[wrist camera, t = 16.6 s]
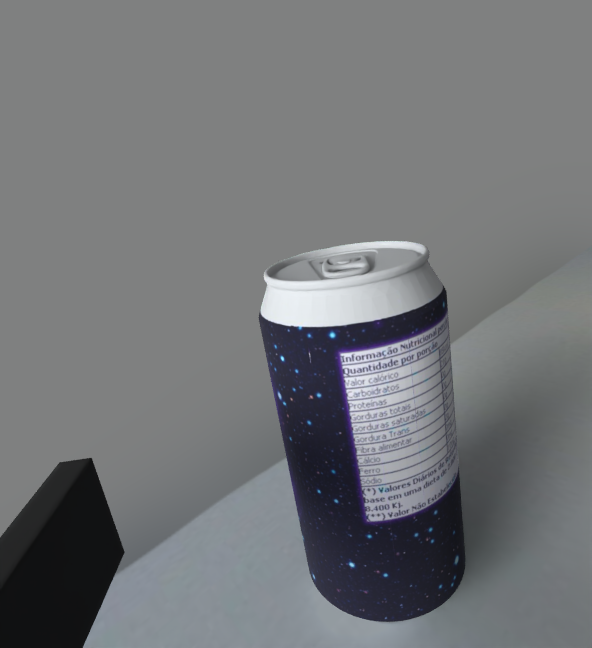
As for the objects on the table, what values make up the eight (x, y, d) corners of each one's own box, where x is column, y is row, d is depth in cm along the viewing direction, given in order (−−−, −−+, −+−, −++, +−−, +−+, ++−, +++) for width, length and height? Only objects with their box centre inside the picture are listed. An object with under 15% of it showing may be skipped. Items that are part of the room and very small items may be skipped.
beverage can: (444, 511, 20) (420, 230, 17) (489, 635, 15) (469, 262, 11) (312, 525, 21) (261, 255, 17) (311, 649, 16) (236, 298, 12)
